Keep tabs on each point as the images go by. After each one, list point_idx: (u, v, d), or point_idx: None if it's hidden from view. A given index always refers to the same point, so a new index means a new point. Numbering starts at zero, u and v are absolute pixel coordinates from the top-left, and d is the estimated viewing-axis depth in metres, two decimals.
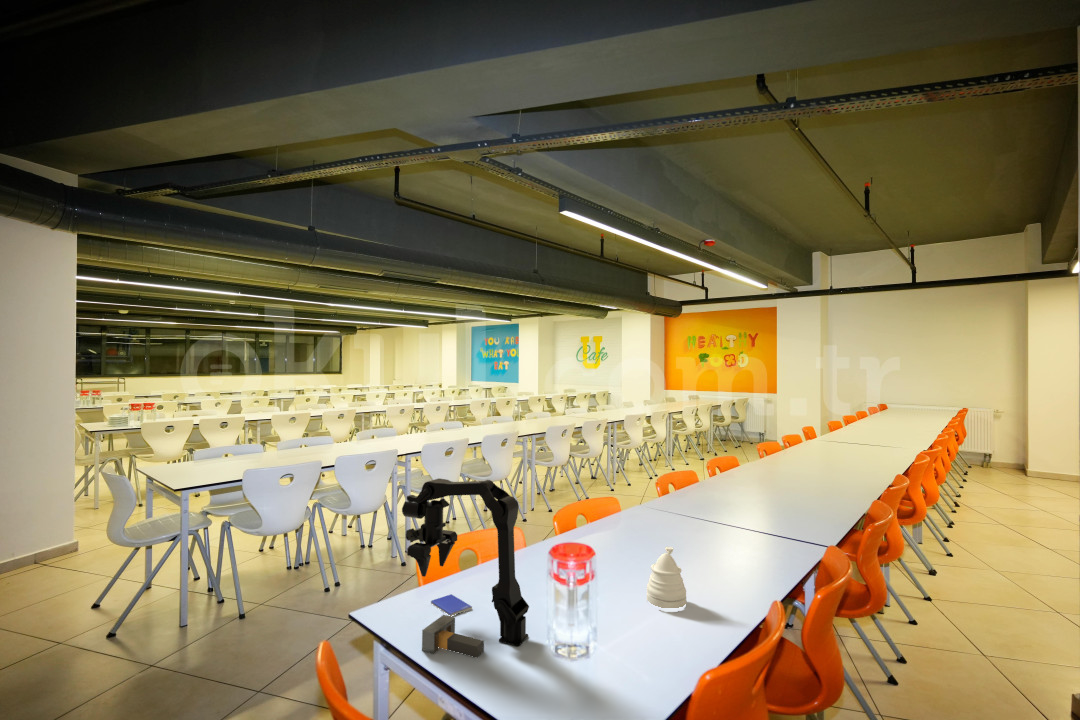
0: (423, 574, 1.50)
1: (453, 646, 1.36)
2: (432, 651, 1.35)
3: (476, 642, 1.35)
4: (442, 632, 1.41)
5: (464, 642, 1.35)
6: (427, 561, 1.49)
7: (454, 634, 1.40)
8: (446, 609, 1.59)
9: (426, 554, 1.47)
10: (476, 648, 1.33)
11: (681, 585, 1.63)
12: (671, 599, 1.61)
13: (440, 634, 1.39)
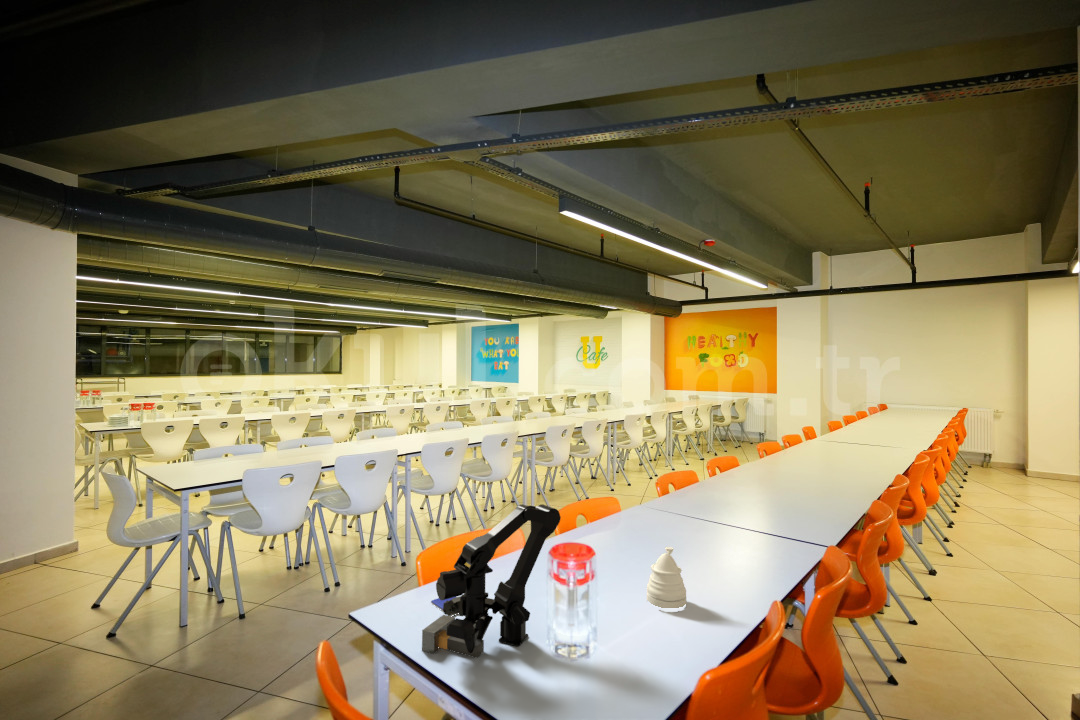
0: (470, 650, 1.33)
1: (453, 646, 1.36)
2: (432, 651, 1.35)
3: (476, 642, 1.35)
4: (442, 632, 1.41)
5: (464, 642, 1.35)
6: (475, 637, 1.32)
7: None
8: None
9: (469, 634, 1.28)
10: (476, 648, 1.33)
11: (681, 585, 1.63)
12: (671, 599, 1.61)
13: (440, 634, 1.39)
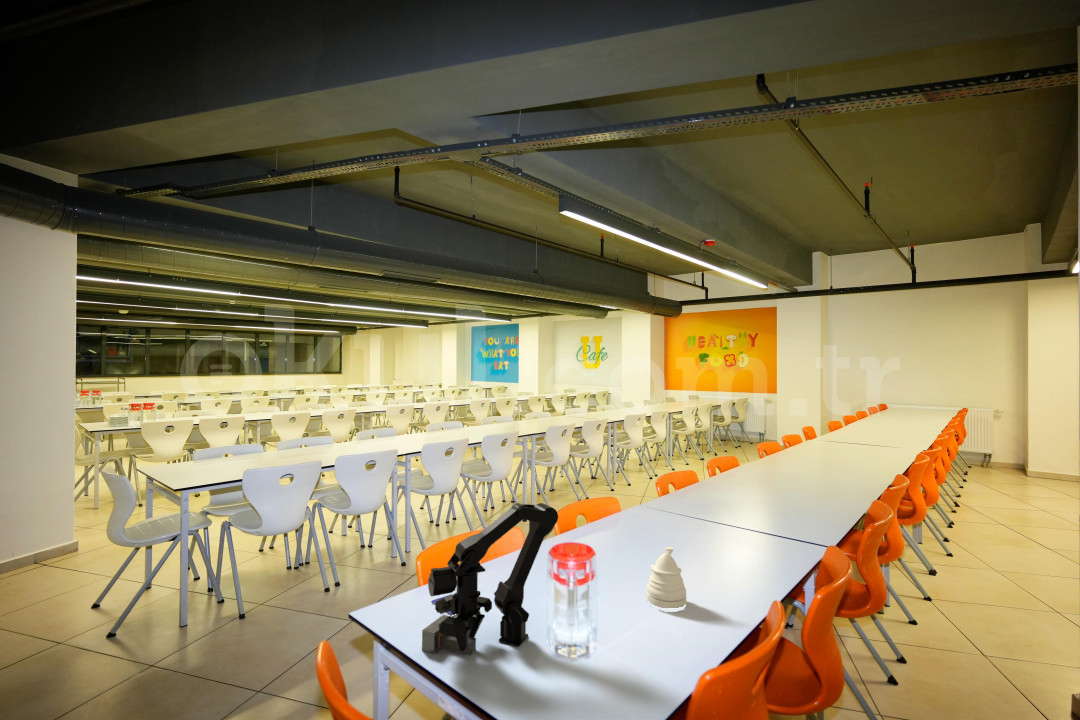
0: (462, 648, 1.34)
1: (446, 644, 1.37)
2: (432, 651, 1.35)
3: (468, 640, 1.36)
4: None
5: (456, 640, 1.36)
6: (467, 635, 1.33)
7: None
8: None
9: (461, 632, 1.29)
10: (468, 646, 1.34)
11: (681, 585, 1.63)
12: (671, 599, 1.61)
13: None
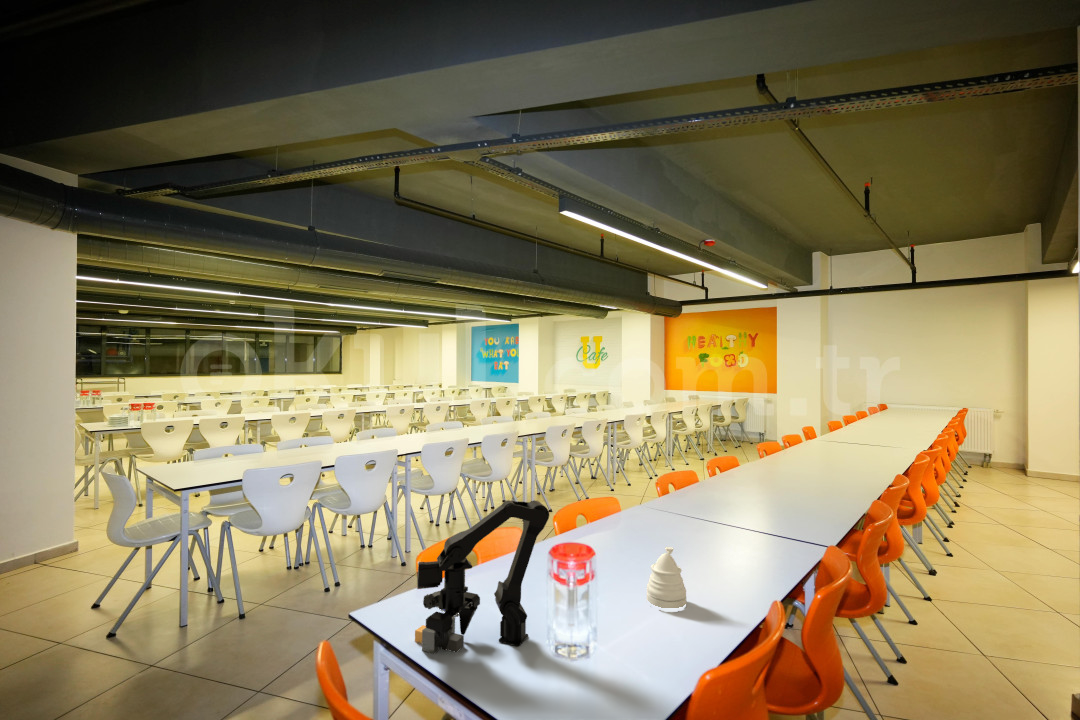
0: (443, 648, 1.34)
1: None
2: (432, 651, 1.35)
3: (456, 637, 1.38)
4: (423, 627, 1.43)
5: None
6: (448, 634, 1.32)
7: None
8: None
9: (447, 627, 1.30)
10: (456, 643, 1.36)
11: (681, 585, 1.63)
12: (671, 599, 1.61)
13: (421, 629, 1.42)
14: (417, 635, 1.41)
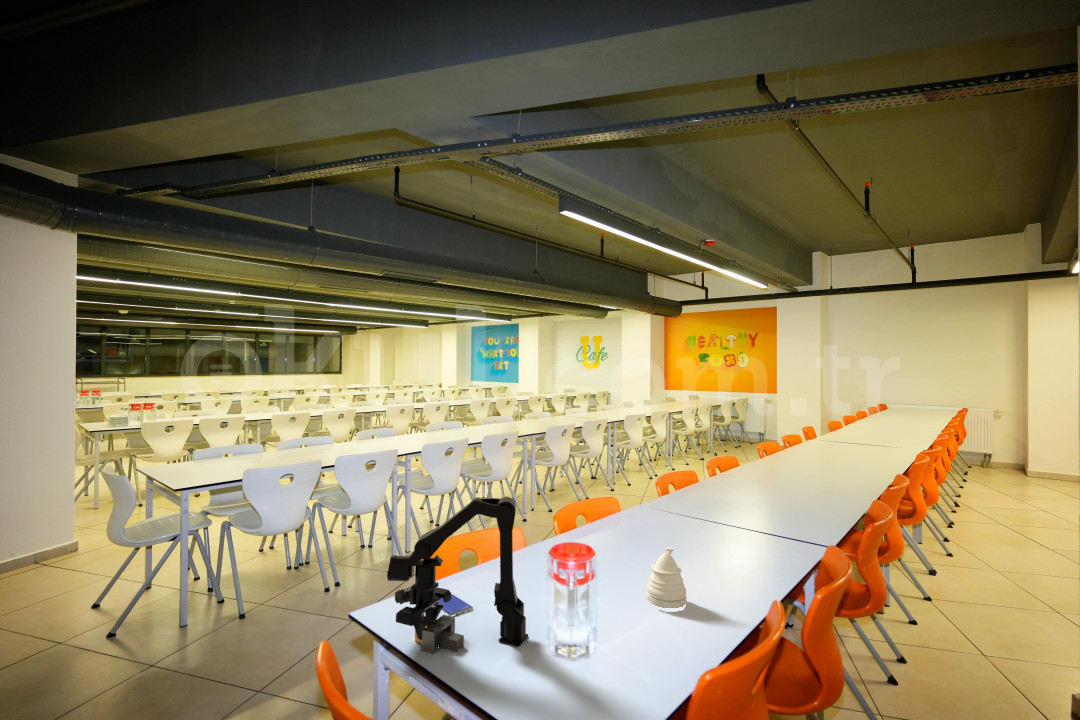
0: (419, 637, 1.40)
1: None
2: (432, 651, 1.35)
3: (456, 637, 1.38)
4: None
5: (444, 637, 1.38)
6: (424, 624, 1.38)
7: None
8: (447, 609, 1.59)
9: (416, 621, 1.34)
10: (456, 642, 1.36)
11: (681, 585, 1.63)
12: (671, 599, 1.61)
13: None
14: None
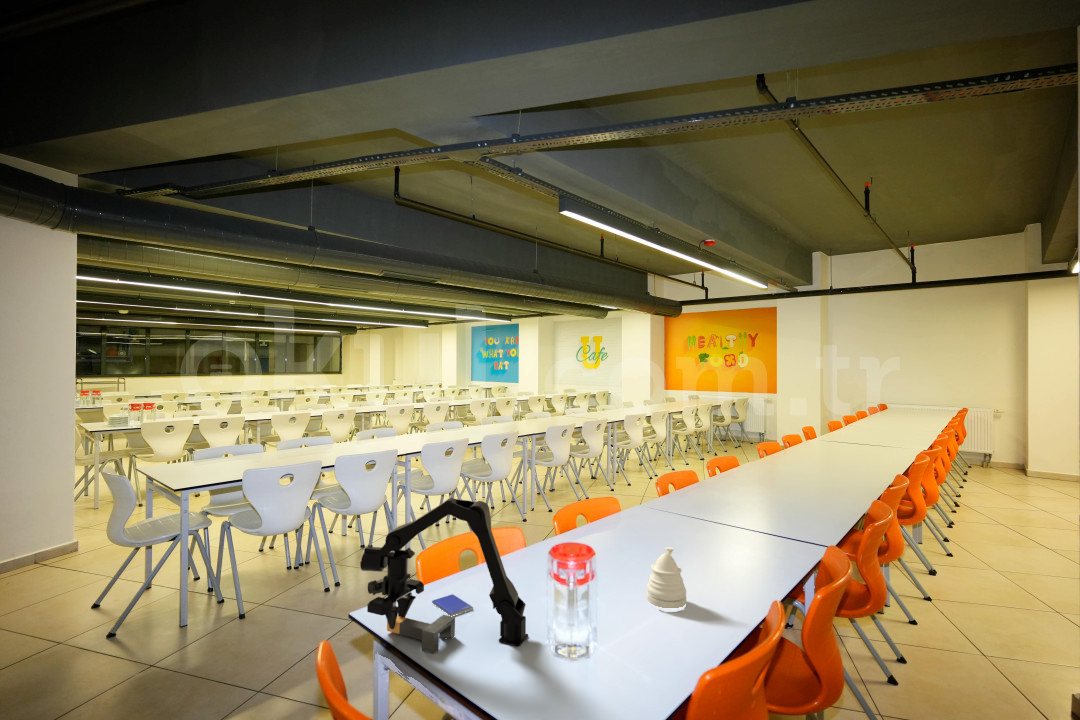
0: (391, 626, 1.44)
1: (405, 630, 1.43)
2: (432, 651, 1.35)
3: None
4: None
5: (415, 626, 1.42)
6: (395, 614, 1.42)
7: (407, 619, 1.46)
8: (447, 609, 1.59)
9: (387, 611, 1.38)
10: None
11: (681, 585, 1.63)
12: (671, 599, 1.61)
13: None
14: None
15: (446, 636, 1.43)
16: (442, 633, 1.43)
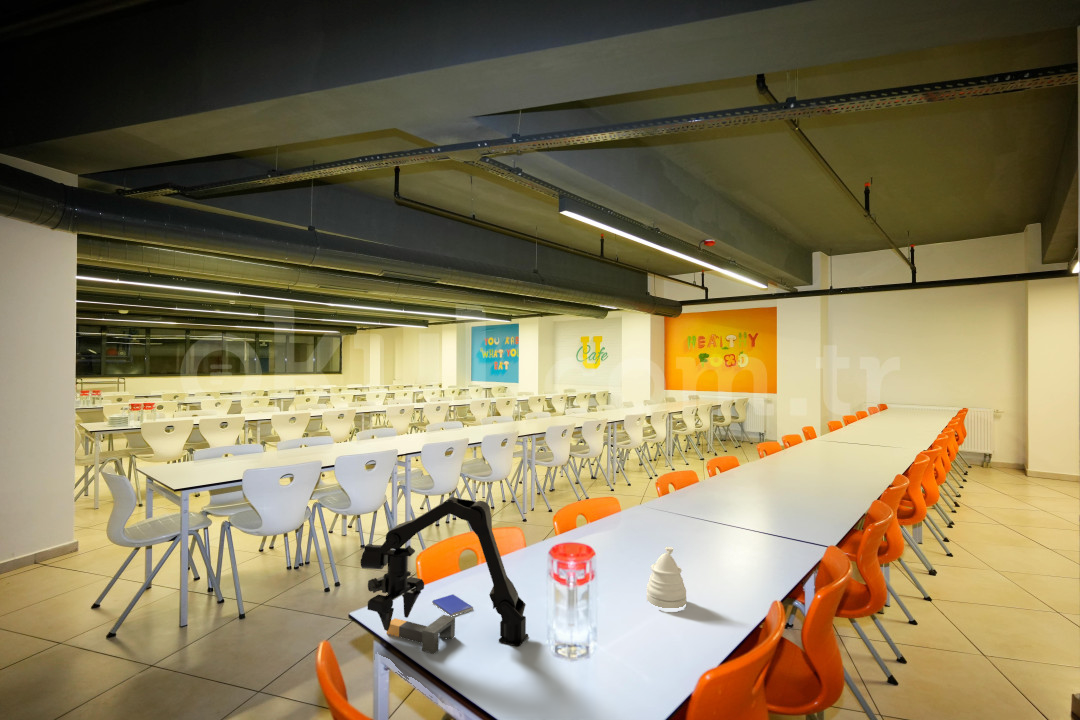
0: (386, 628, 1.42)
1: (405, 633, 1.43)
2: (432, 651, 1.35)
3: None
4: (395, 620, 1.47)
5: (415, 629, 1.42)
6: (389, 615, 1.40)
7: (406, 622, 1.46)
8: (447, 609, 1.59)
9: (387, 608, 1.38)
10: None
11: (681, 585, 1.63)
12: (671, 599, 1.61)
13: (393, 622, 1.46)
14: (389, 628, 1.45)
15: (446, 636, 1.43)
16: (442, 633, 1.43)
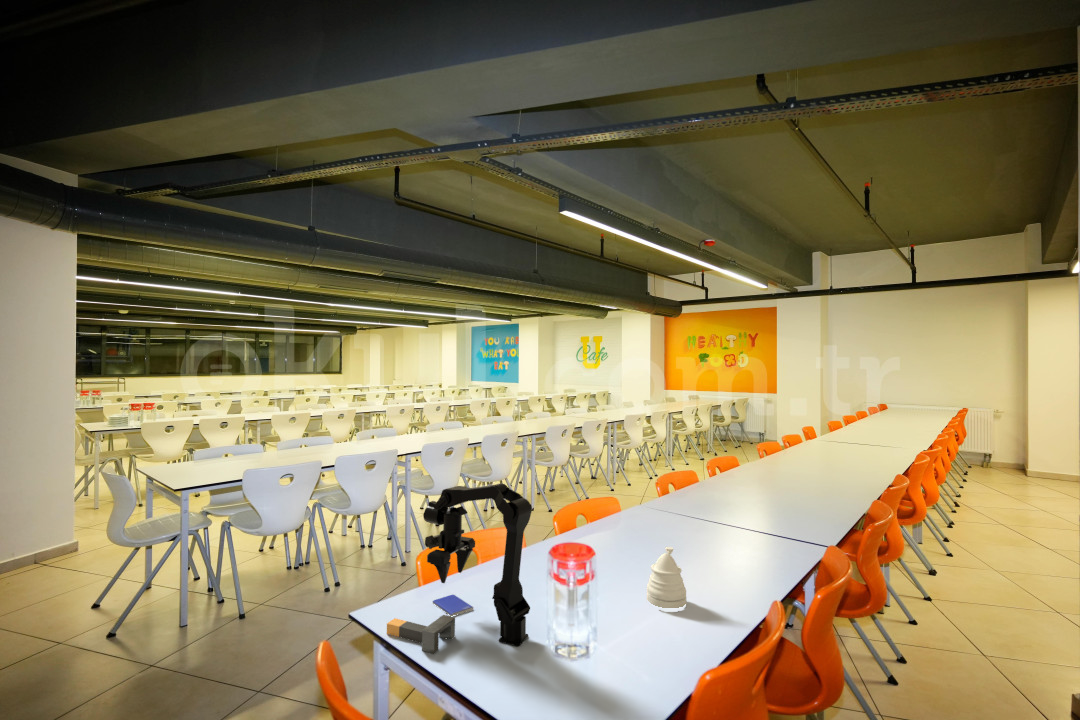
0: (442, 581, 1.52)
1: (405, 633, 1.43)
2: (432, 651, 1.35)
3: None
4: (395, 620, 1.47)
5: (415, 629, 1.42)
6: (447, 568, 1.50)
7: (406, 622, 1.46)
8: (447, 609, 1.59)
9: (446, 561, 1.49)
10: None
11: (681, 585, 1.63)
12: (671, 599, 1.61)
13: (393, 622, 1.46)
14: (389, 628, 1.45)
15: (446, 636, 1.43)
16: (442, 633, 1.43)
